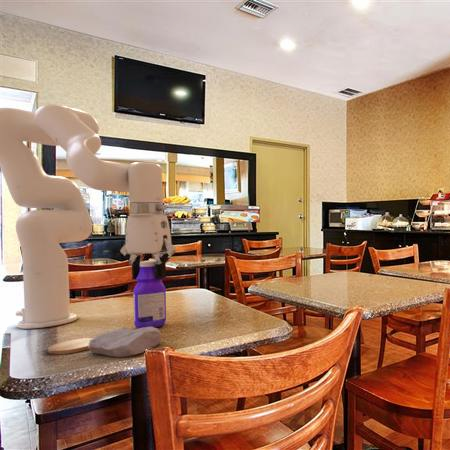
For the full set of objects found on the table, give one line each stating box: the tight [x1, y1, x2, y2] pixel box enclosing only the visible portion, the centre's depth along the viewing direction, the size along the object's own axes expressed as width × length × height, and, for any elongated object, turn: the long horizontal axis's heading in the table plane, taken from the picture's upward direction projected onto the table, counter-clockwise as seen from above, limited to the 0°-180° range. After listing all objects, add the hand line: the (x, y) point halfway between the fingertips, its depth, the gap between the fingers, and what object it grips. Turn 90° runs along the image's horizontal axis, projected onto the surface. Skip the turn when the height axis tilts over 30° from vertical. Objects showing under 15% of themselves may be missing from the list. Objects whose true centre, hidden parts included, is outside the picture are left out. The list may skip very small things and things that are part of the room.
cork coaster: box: [47, 337, 94, 355], centre depth 91 cm, size 9×9×1 cm
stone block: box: [87, 327, 162, 358], centre depth 89 cm, size 12×5×10 cm
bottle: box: [132, 260, 167, 329], centre depth 107 cm, size 7×6×17 cm
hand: (149, 278), depth 107 cm, fingers closed on bottle, 5 cm apart
